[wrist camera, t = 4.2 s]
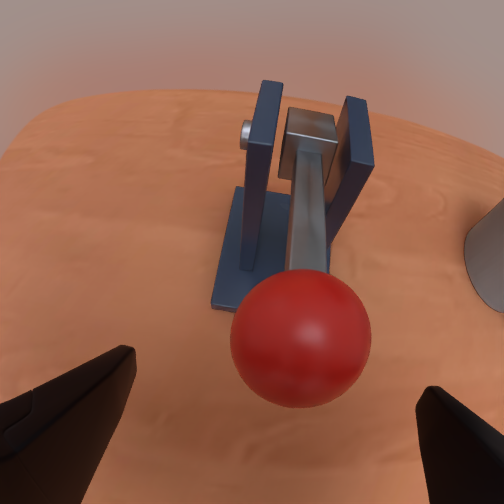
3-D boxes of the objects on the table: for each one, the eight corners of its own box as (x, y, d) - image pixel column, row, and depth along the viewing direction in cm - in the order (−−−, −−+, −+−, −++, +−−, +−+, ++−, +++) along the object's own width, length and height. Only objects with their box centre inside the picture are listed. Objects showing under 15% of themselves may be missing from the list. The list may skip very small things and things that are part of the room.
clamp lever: (342, 424, 8) (402, 388, 6) (218, 410, 8) (219, 370, 6) (333, 166, 17) (350, 107, 14) (266, 154, 17) (275, 92, 14)
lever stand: (321, 325, 23) (417, 236, 10) (211, 308, 23) (188, 195, 11) (328, 210, 27) (386, 78, 15) (235, 194, 27) (241, 49, 15)
